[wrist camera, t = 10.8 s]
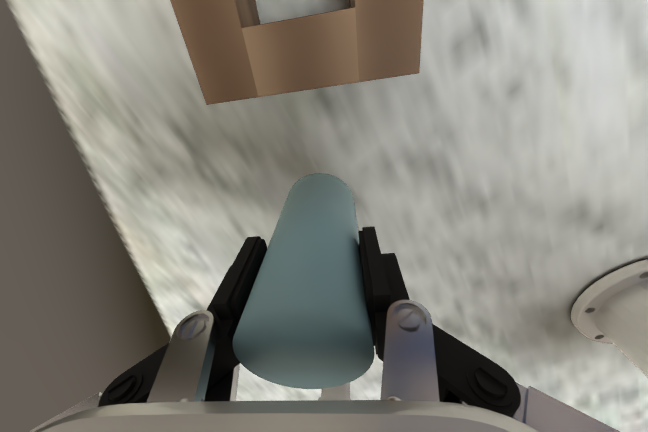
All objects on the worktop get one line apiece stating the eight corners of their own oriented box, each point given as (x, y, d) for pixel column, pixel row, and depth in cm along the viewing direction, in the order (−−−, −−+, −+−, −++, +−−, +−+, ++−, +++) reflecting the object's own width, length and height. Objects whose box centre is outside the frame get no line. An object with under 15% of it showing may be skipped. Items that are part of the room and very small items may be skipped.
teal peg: (351, 169, 15) (371, 304, 6) (356, 229, 17) (376, 388, 9) (280, 177, 15) (210, 312, 7) (294, 234, 18) (255, 389, 9)
